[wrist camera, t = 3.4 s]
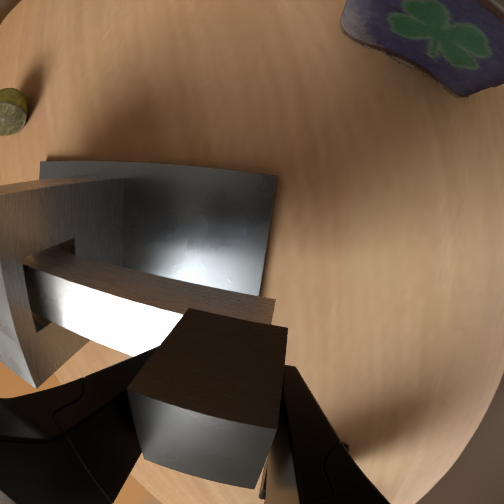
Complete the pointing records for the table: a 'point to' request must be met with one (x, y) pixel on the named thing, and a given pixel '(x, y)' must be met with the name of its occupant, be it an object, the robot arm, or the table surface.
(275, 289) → the table surface
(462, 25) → the flask
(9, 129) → the lime
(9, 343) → the block
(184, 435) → the shaft
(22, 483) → the robot arm
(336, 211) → the table surface
